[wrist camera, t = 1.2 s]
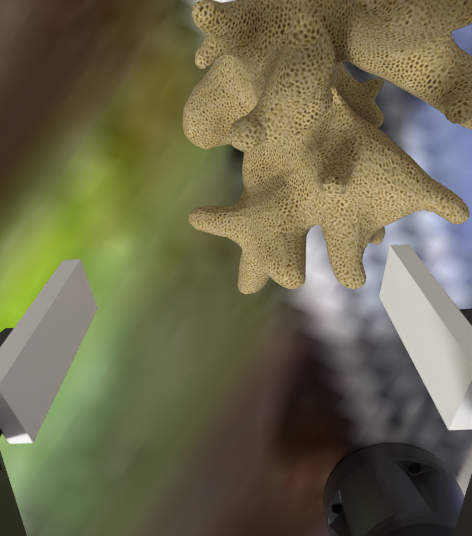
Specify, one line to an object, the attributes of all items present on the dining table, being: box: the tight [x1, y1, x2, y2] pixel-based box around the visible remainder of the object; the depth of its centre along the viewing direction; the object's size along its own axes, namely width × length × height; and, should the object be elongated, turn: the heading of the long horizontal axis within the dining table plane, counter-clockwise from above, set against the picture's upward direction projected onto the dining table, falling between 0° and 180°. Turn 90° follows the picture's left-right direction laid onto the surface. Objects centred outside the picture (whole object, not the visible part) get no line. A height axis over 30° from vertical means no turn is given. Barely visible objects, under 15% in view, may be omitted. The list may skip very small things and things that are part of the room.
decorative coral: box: [183, 0, 472, 294], centre depth 27 cm, size 26×22×25 cm
